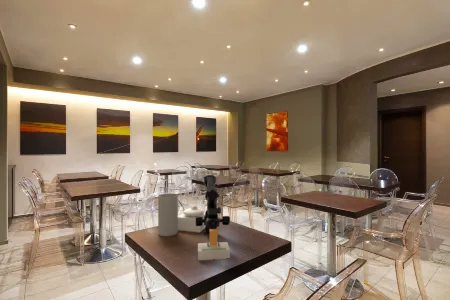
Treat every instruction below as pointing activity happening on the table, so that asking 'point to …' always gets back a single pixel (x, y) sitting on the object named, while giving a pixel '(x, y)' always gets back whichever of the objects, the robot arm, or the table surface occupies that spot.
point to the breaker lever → (213, 237)
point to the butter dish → (191, 219)
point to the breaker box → (213, 251)
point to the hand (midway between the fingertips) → (213, 235)
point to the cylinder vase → (167, 214)
